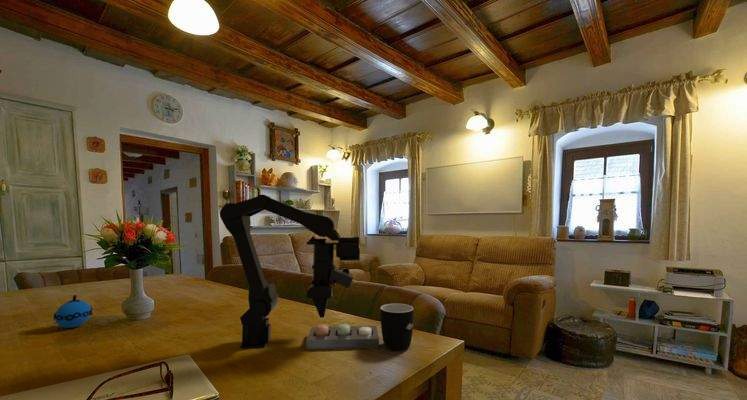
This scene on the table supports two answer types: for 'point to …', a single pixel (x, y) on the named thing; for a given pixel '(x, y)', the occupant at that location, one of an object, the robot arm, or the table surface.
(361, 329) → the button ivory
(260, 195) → the robot arm
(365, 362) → the table surface
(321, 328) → the salmon pink rounded lump
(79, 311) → the ornament
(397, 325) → the mug
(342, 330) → the egg sage
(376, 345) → the grey holder
